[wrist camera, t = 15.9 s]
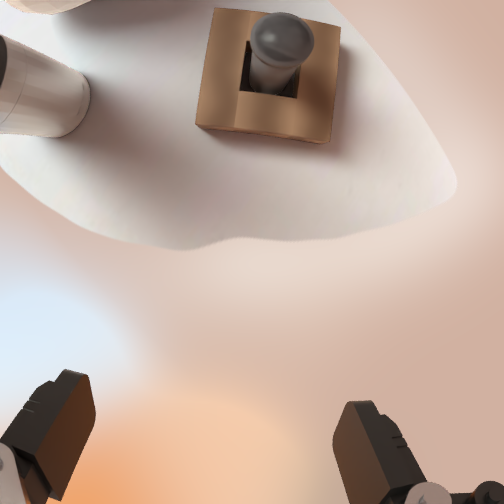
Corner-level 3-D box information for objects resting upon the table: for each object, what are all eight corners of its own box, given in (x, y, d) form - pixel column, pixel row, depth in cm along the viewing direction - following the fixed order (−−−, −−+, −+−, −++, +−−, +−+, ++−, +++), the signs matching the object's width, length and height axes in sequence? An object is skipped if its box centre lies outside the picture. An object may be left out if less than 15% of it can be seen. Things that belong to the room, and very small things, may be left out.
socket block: (199, 128, 35) (195, 123, 31) (216, 21, 31) (214, 7, 27) (320, 144, 36) (329, 141, 32) (331, 38, 32) (340, 27, 28)
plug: (243, 95, 34) (246, 60, 21) (249, 57, 33) (254, 8, 20) (286, 101, 34) (311, 70, 22) (291, 63, 33) (316, 18, 20)
